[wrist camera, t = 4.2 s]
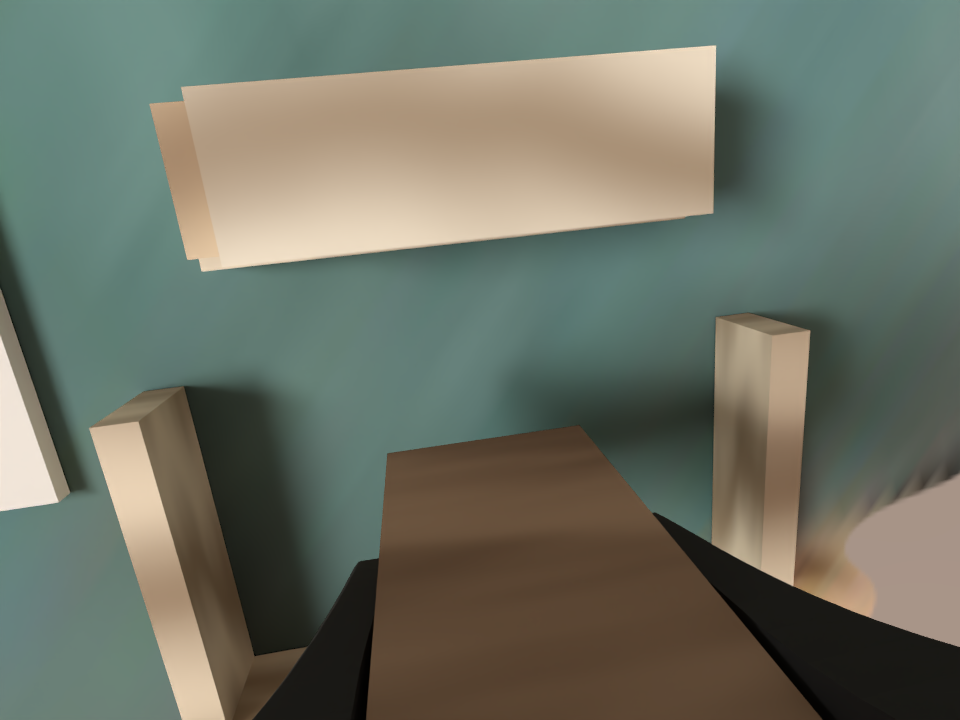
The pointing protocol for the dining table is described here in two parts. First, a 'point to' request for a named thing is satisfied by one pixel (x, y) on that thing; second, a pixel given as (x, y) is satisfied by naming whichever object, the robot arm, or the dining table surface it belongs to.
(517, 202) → the offcut stack
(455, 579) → the brown wooden block
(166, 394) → the rack
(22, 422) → the mat
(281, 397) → the dining table surface
